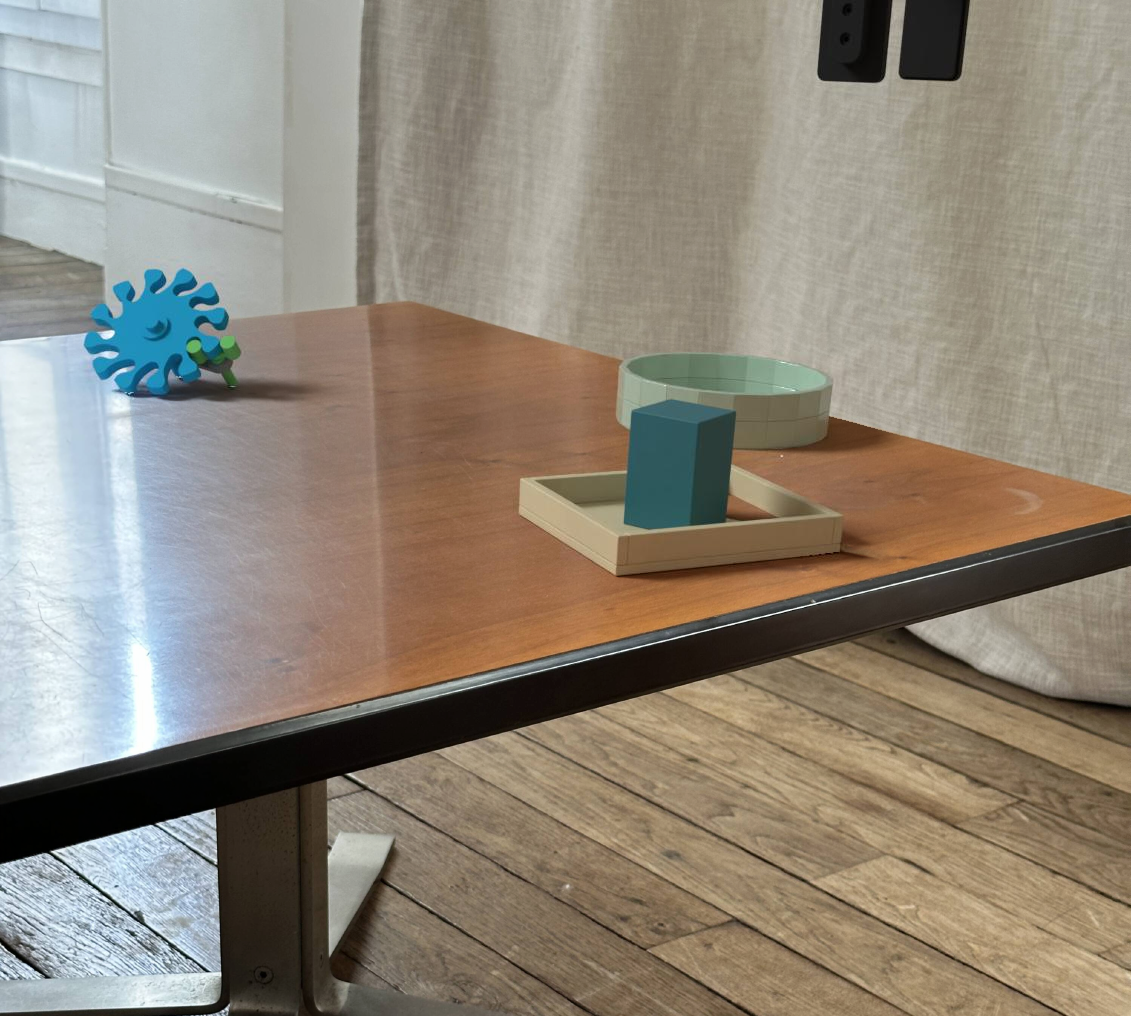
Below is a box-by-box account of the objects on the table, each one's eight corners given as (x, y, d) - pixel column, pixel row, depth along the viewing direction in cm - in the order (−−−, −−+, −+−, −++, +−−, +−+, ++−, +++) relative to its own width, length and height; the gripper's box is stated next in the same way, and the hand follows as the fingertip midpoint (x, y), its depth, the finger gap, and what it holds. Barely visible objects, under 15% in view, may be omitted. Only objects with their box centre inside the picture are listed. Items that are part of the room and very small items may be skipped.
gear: (53, 362, 108) (123, 246, 111) (89, 411, 113) (155, 299, 116) (192, 405, 105) (260, 285, 108) (223, 453, 111) (287, 338, 113)
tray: (726, 496, 92) (729, 462, 91) (840, 552, 83) (844, 515, 82) (518, 514, 86) (519, 477, 86) (615, 576, 77) (618, 536, 76)
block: (661, 509, 87) (670, 398, 84) (726, 523, 85) (737, 410, 83) (622, 524, 84) (630, 409, 81) (688, 539, 82) (699, 422, 79)
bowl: (752, 405, 116) (758, 348, 114) (868, 450, 104) (876, 389, 103) (580, 414, 110) (583, 355, 108) (682, 464, 99) (688, 399, 97)
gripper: (942, -390, 62) (894, 86, 69) (1076, -310, 76) (1024, 82, 83) (769, -370, 66) (740, 79, 73) (926, -297, 79) (889, 77, 86)
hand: (891, 80), depth 78 cm, fingers open, 9 cm apart
